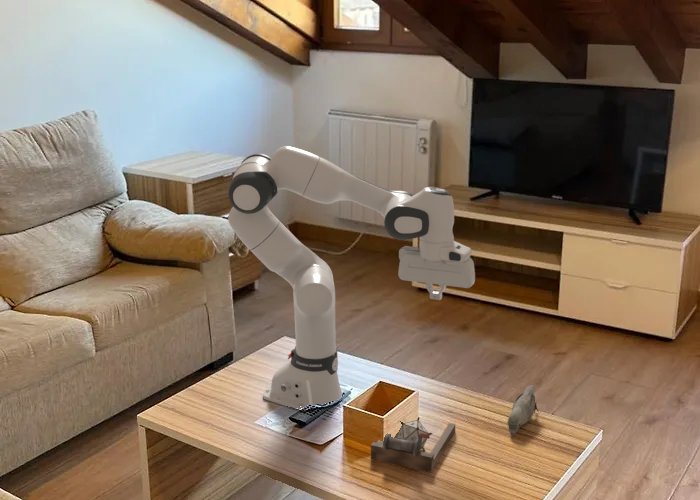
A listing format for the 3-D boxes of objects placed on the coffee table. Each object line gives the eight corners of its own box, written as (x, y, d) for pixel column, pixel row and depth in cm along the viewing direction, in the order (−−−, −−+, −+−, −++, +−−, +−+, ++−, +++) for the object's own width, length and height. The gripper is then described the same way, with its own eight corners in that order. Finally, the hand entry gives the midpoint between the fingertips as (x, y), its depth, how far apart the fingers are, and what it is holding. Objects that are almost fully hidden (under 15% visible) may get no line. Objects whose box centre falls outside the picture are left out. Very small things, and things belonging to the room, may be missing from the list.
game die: (418, 466, 209) (430, 449, 202) (386, 453, 209) (397, 436, 202) (426, 435, 215) (438, 417, 207) (395, 423, 215) (406, 405, 207)
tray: (369, 462, 205) (368, 427, 202) (398, 422, 223) (398, 389, 220) (429, 475, 199) (430, 439, 196) (455, 432, 217) (456, 399, 214)
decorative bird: (501, 434, 216) (502, 408, 214) (521, 407, 230) (522, 383, 228) (521, 439, 214) (523, 413, 212) (540, 412, 227) (541, 387, 225)
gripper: (394, 248, 220) (394, 297, 224) (470, 256, 212) (469, 307, 216) (403, 241, 225) (403, 290, 229) (477, 249, 217) (476, 299, 222)
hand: (435, 298), depth 223 cm, fingers closed
